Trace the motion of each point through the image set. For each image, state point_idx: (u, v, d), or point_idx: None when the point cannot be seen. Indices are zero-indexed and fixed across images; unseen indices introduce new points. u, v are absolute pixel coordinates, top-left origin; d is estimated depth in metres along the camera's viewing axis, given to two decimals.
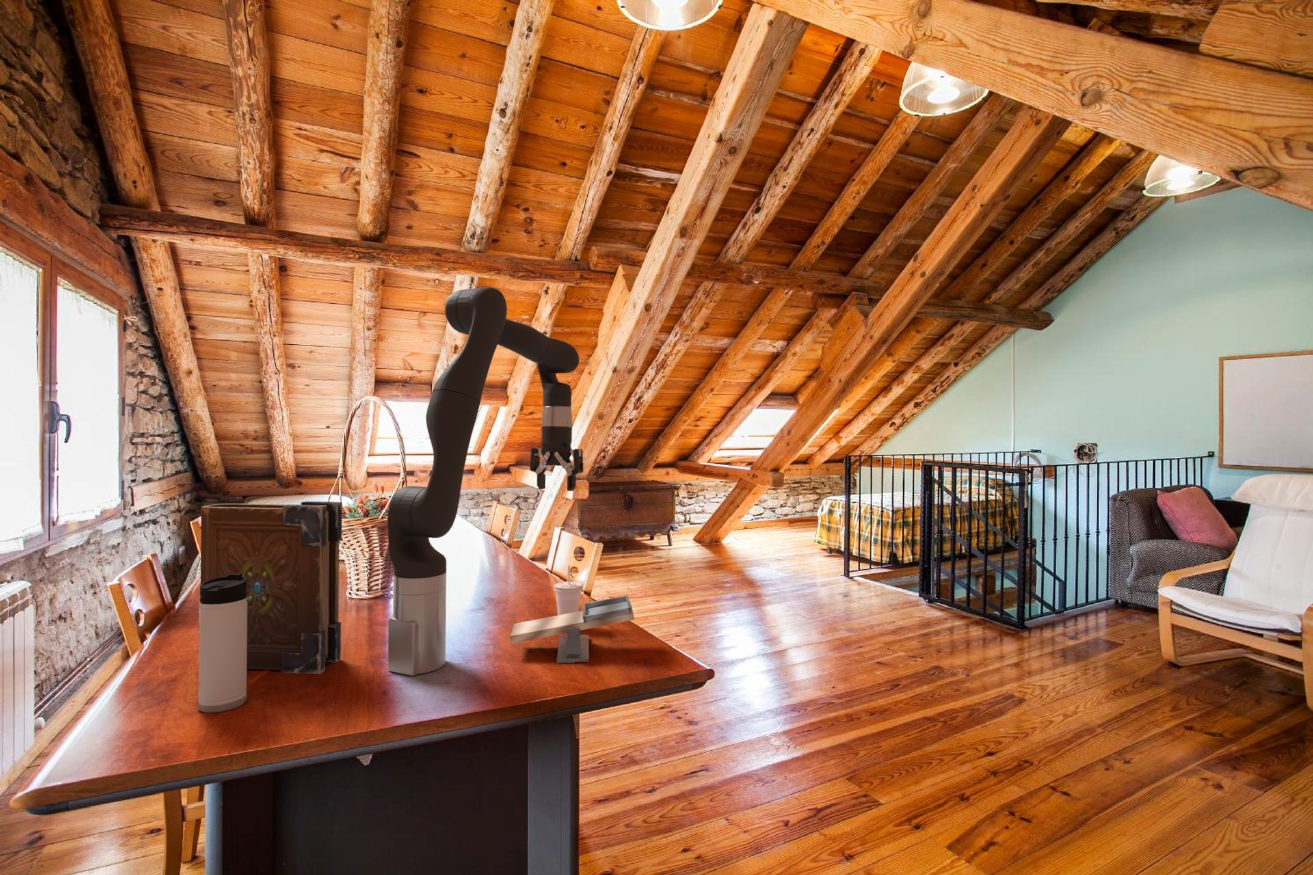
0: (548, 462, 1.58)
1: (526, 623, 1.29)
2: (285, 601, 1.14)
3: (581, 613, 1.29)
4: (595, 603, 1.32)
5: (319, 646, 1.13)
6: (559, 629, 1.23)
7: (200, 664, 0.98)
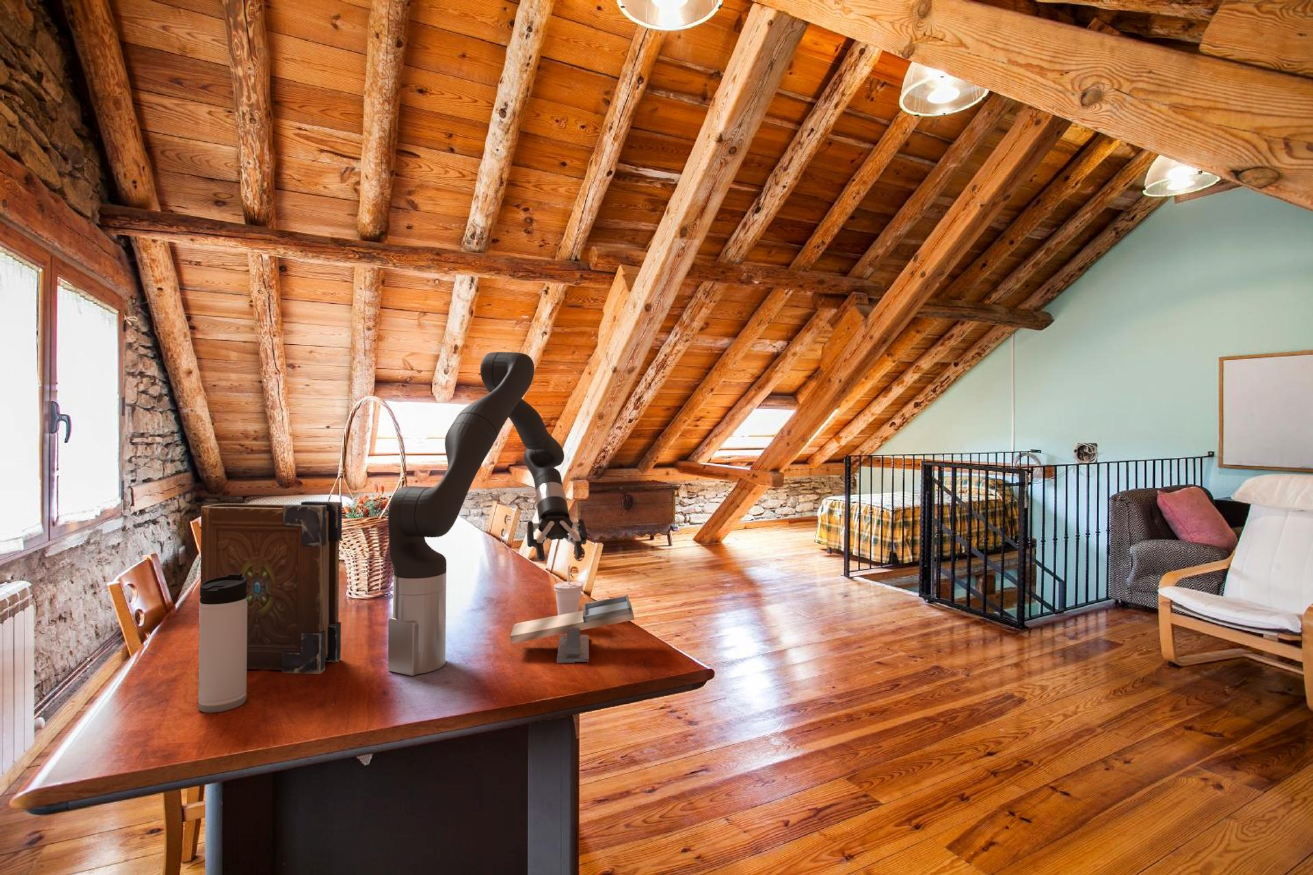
0: (550, 532, 1.52)
1: (526, 623, 1.29)
2: (285, 601, 1.14)
3: (581, 613, 1.29)
4: (595, 603, 1.32)
5: (319, 646, 1.13)
6: (559, 629, 1.23)
7: (200, 664, 0.98)
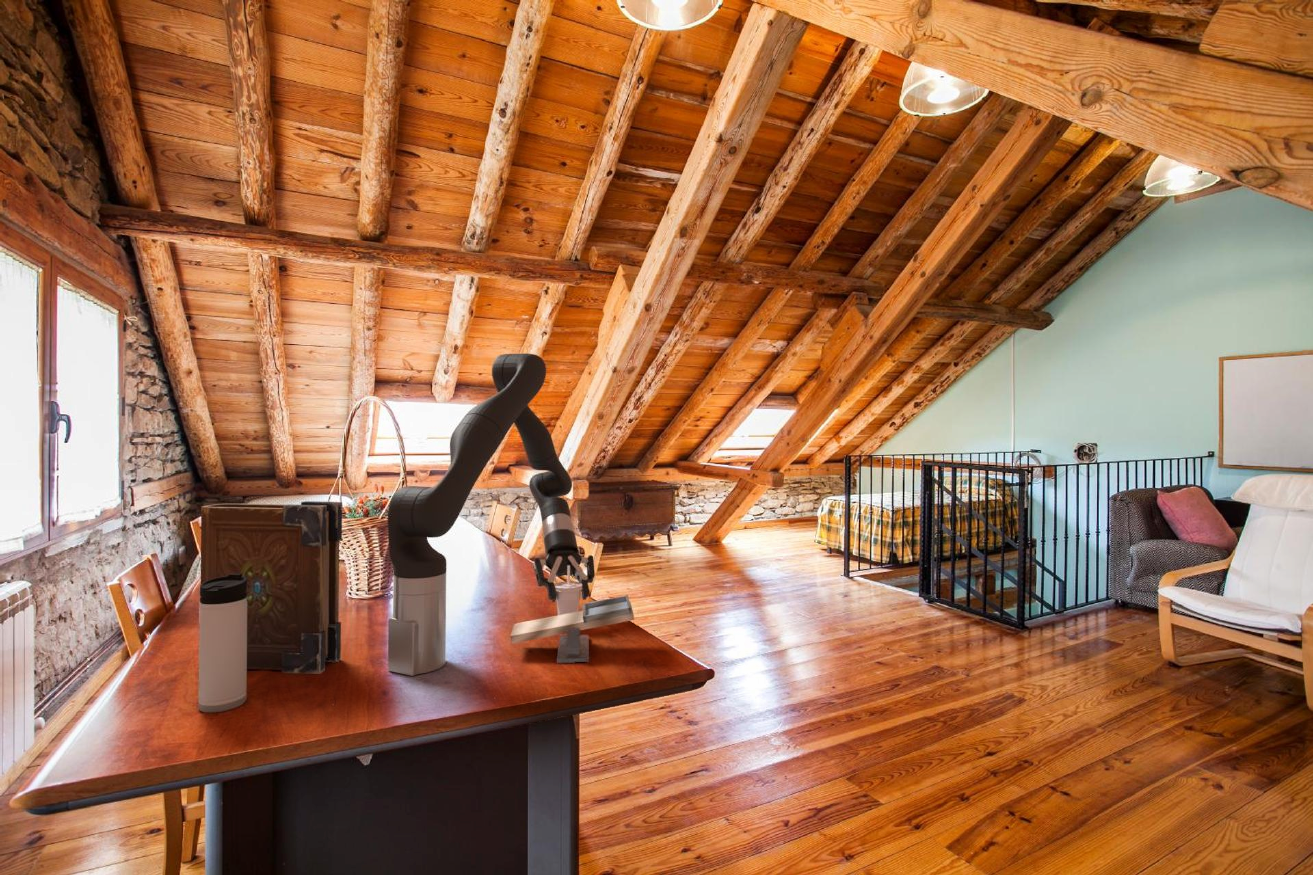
0: (560, 568, 1.44)
1: (526, 623, 1.29)
2: (285, 601, 1.14)
3: (581, 613, 1.29)
4: (595, 603, 1.32)
5: (319, 646, 1.13)
6: (559, 629, 1.23)
7: (200, 664, 0.98)
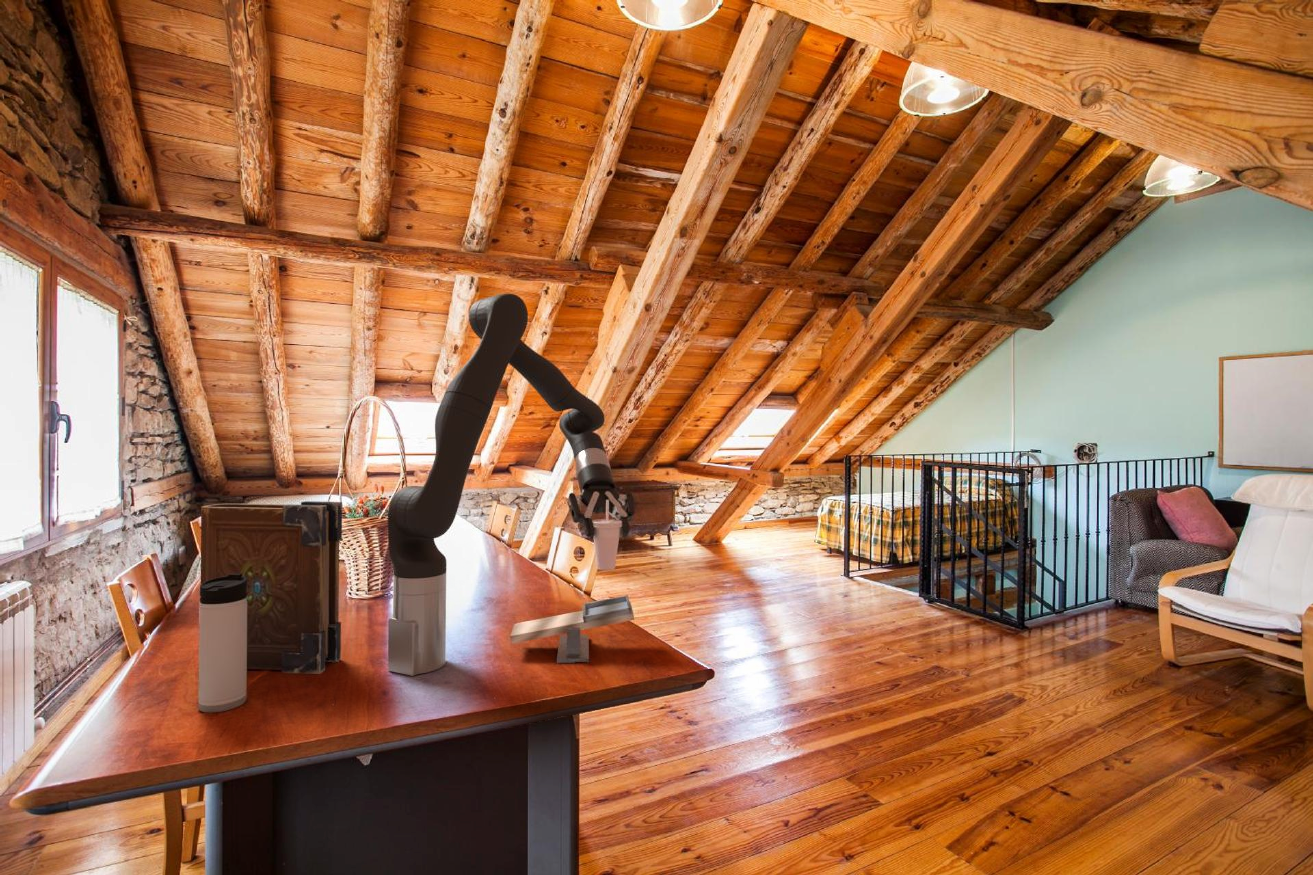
0: (597, 504, 1.31)
1: (526, 623, 1.29)
2: (285, 601, 1.14)
3: (581, 613, 1.29)
4: (595, 603, 1.32)
5: (319, 646, 1.13)
6: (559, 629, 1.23)
7: (200, 664, 0.98)
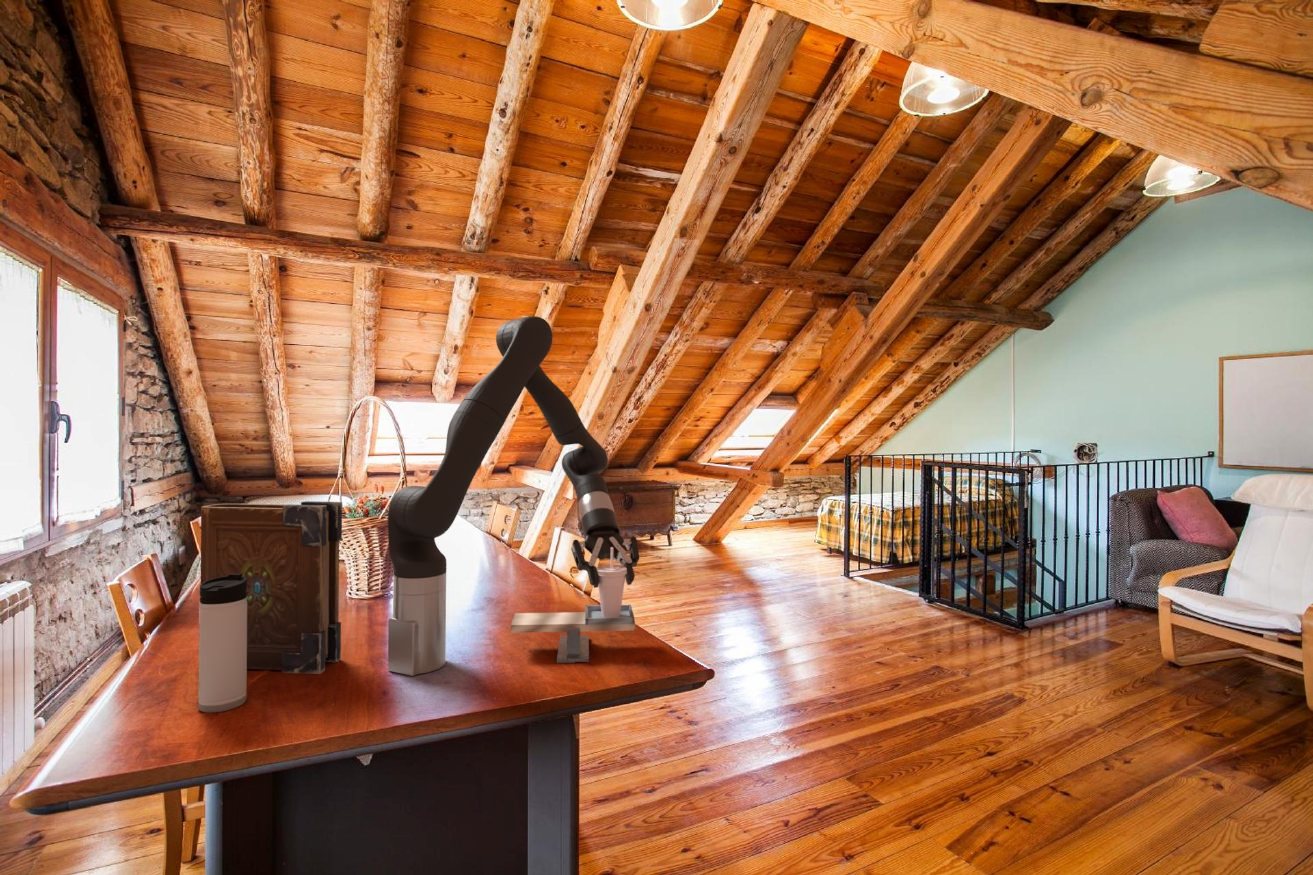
0: (601, 550, 1.30)
1: (527, 615, 1.29)
2: (285, 601, 1.14)
3: (582, 614, 1.29)
4: (597, 607, 1.32)
5: (319, 646, 1.13)
6: (560, 627, 1.23)
7: (200, 664, 0.98)
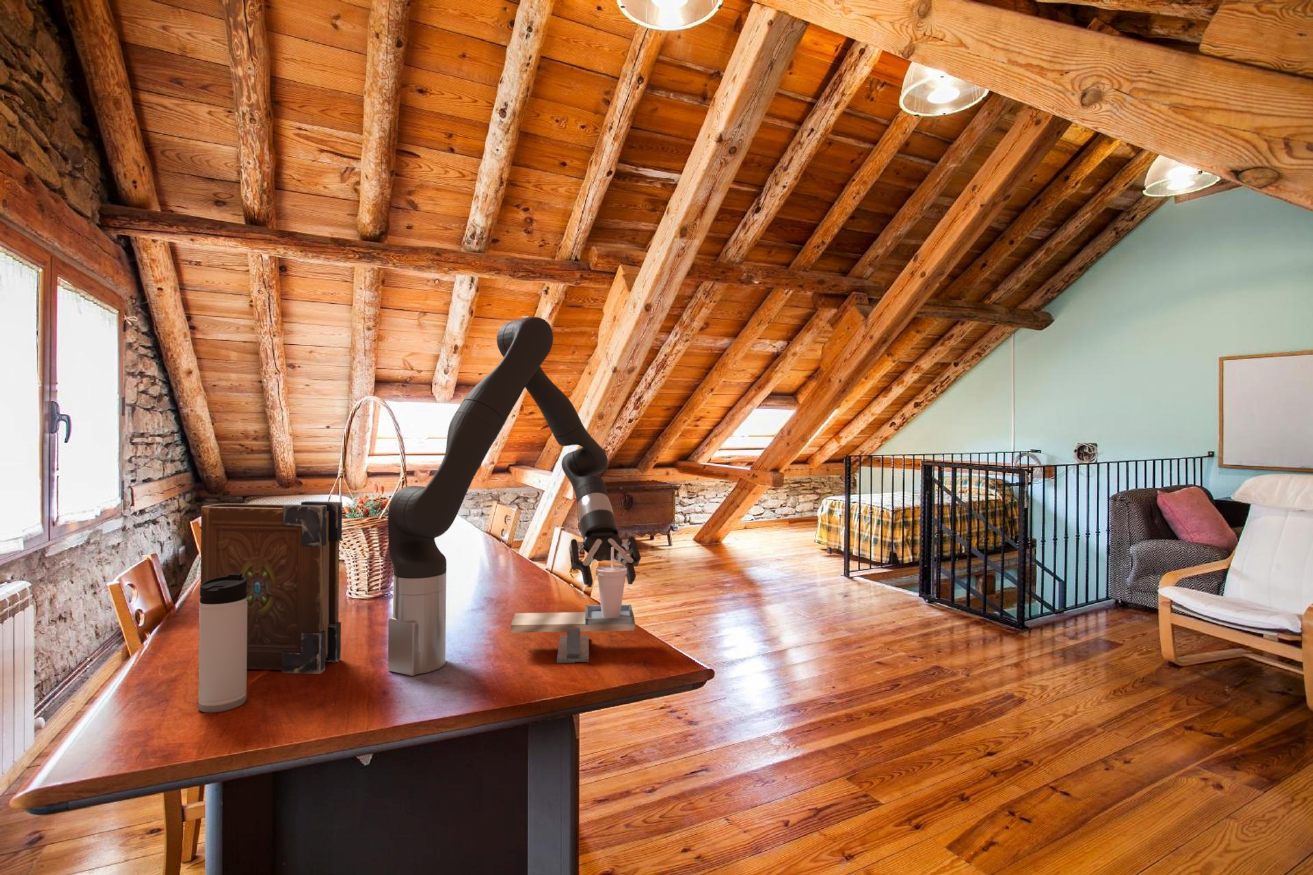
0: (598, 552, 1.30)
1: (527, 615, 1.29)
2: (285, 601, 1.14)
3: (582, 614, 1.29)
4: (597, 607, 1.32)
5: (319, 646, 1.13)
6: (560, 627, 1.23)
7: (200, 664, 0.98)
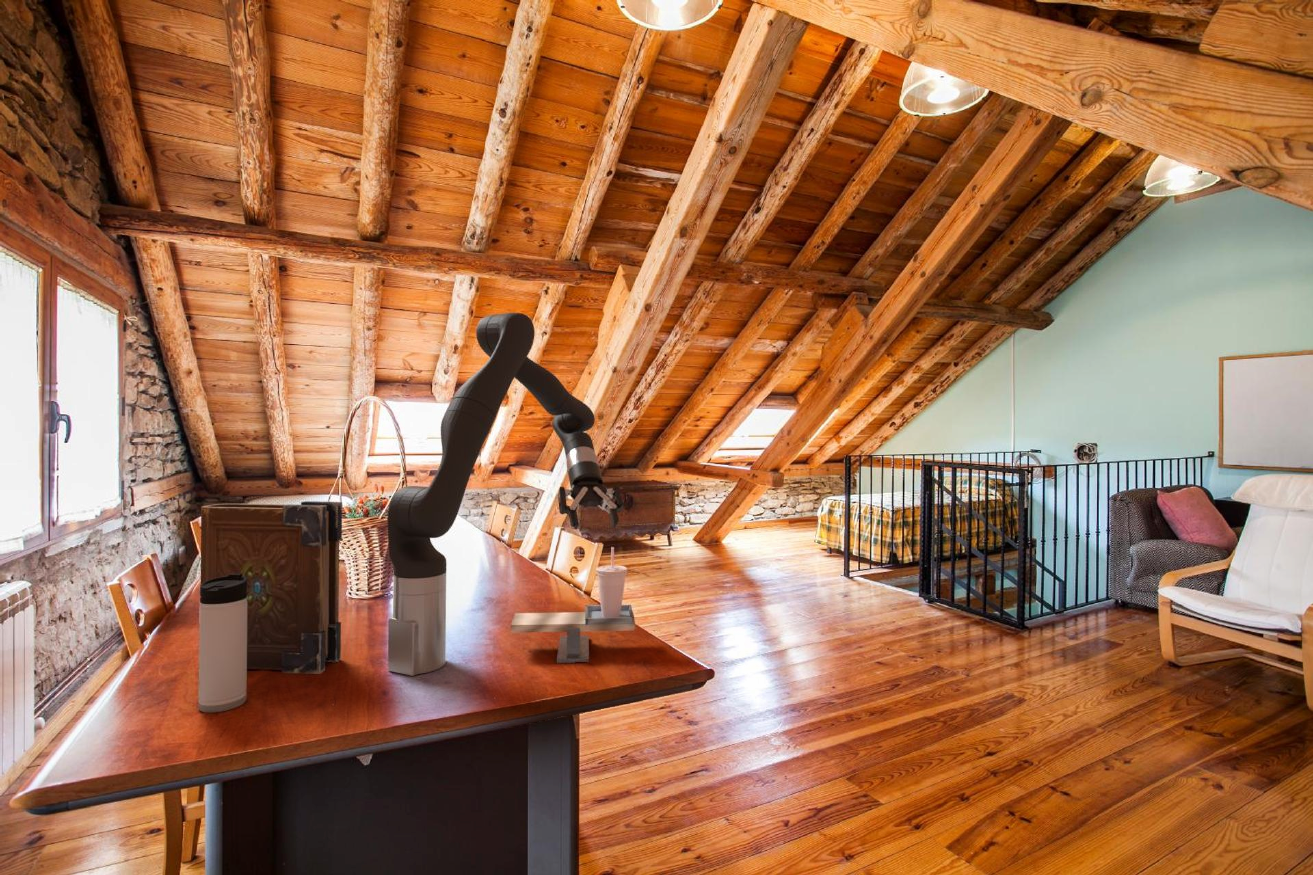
0: (584, 498, 1.42)
1: (527, 615, 1.29)
2: (285, 601, 1.14)
3: (582, 614, 1.29)
4: (597, 607, 1.32)
5: (319, 646, 1.13)
6: (560, 627, 1.23)
7: (200, 664, 0.98)
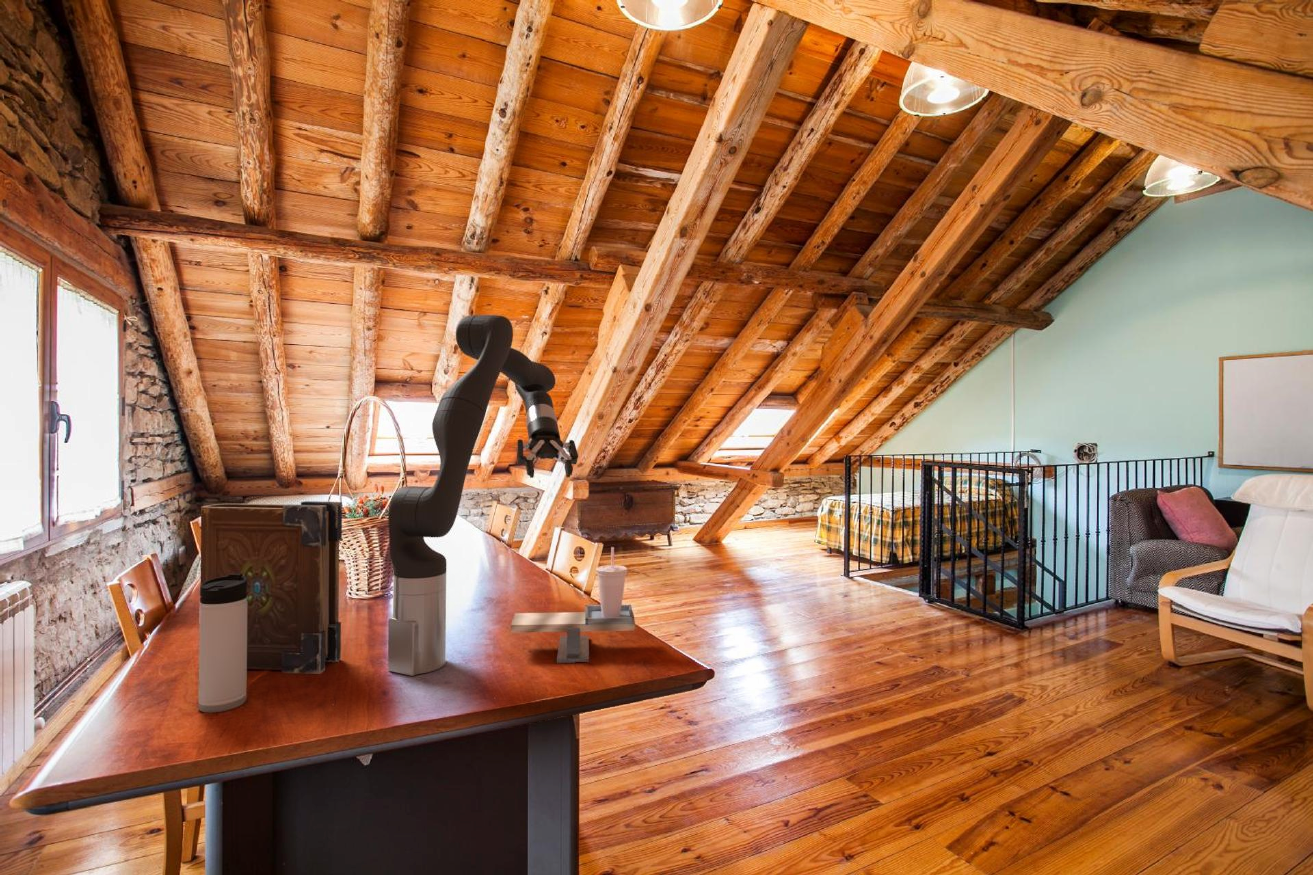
0: (540, 450, 1.51)
1: (527, 615, 1.29)
2: (285, 601, 1.14)
3: (582, 614, 1.29)
4: (597, 607, 1.32)
5: (319, 646, 1.13)
6: (560, 627, 1.23)
7: (200, 664, 0.98)
